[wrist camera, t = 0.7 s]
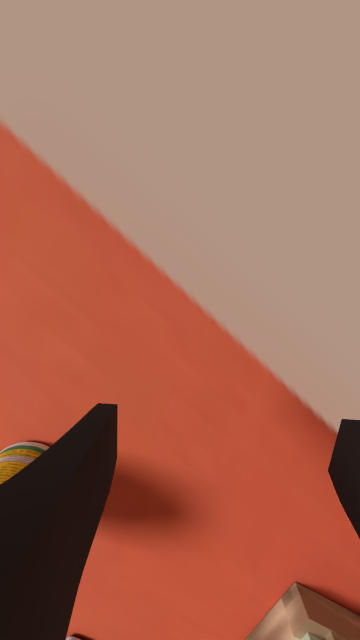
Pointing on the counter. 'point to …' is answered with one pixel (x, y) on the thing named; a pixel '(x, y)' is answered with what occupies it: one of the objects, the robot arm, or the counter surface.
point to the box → (307, 618)
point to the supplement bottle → (18, 458)
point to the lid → (310, 637)
